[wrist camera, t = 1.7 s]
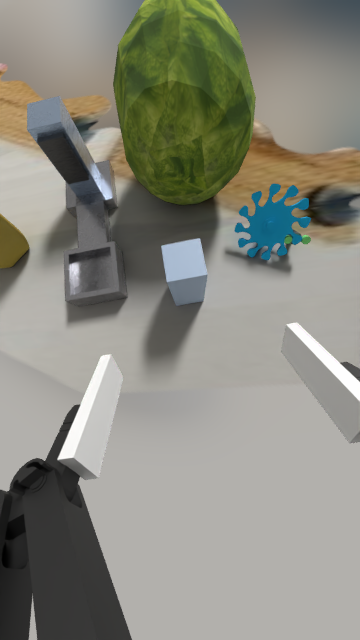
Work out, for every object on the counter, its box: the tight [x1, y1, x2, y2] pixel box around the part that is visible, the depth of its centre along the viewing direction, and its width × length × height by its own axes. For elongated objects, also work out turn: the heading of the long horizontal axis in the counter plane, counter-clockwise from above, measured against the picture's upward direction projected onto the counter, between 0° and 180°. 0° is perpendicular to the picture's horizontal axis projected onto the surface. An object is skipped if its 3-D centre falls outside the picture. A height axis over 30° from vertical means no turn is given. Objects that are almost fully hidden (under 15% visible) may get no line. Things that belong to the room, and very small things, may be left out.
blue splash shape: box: [235, 184, 311, 260], centre depth 28 cm, size 11×6×10 cm
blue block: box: [161, 238, 207, 306], centre depth 25 cm, size 4×5×10 cm
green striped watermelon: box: [113, 0, 256, 205], centre depth 25 cm, size 19×23×18 cm
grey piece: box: [27, 96, 127, 306], centre depth 28 cm, size 9×27×12 cm, turn 9°
